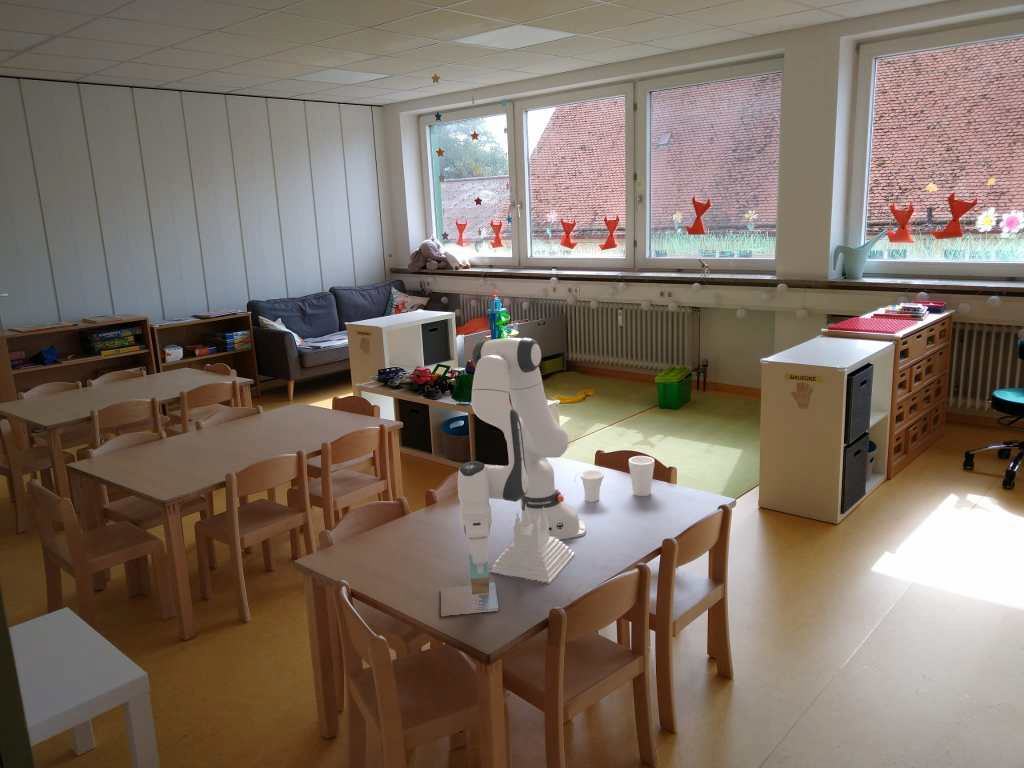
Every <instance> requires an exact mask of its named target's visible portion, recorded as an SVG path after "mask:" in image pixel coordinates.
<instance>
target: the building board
mask: <svg viewBox="0 0 1024 768" xmlns="http://www.w3.org/2000/svg"><path fill="white" fill-rule="evenodd" d="M489 592H490V593H487V594H478V595H479V596H478V597H480V598H481V599H482V600H479V603H480V602H482V604H478V605H479V606H480V605H481V606H482V607H478V608H479V609H475V610H488V609H499V603H498V595H497V588H496V582H494V581H492V582H489ZM476 595H477V594H476ZM476 601H477V600H476ZM484 607H485V608H484ZM480 608H481V609H480Z"/></svg>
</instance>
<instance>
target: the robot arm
mask: <svg viewBox="0 0 1024 768" xmlns="http://www.w3.org/2000/svg"><path fill="white" fill-rule="evenodd" d="M471 360H472V366H474V369H475V370H474V374H473V379H472V388H471V409H472V411H473V412H474V415H476V416H477V417H478V418H479V419H480V420H481V421H484V423H486V424H489V425H492V426H493V427H496V428H498V429H499V430H501V431H502V433H503V434H504V438H505V441H506V444H507V445H506V446H507V454H508V465H495V464H485V463H483V462H481V461H475V460H474V461H468V462H465V463H463V464H462V465H461V466H460V467H459V469H458V475H457V497H458V501H459V523H460V528H461V529H462V530H463V532H464V535H465V538H466V539H467V540H468V544H469V550H470V555H472V560H473V563H474V564H475V565H476V566H477V573H483V572H484V570H483V564H485V563H486V562H487V561H488V542H489V541H488V540H489V538H488V537H489V536H490V529H491V526H492V525H493V522H492V507H491V504H490V499H494V500H504V501H510V502H518V501H520V509H521V518H520V522H521V524H522V519H523V515H524V511H525V504H526V506H527V511H528V514H529V517H530V518H531V524H534V523H533V522H534V521H535V514H536V517H537V521H538V524H539V525H540V521H541V517H542V514H543V506H544V509H545V514H546V517H547V519H548V523H549V536H550V537H555V539H559V541H561V540H567V539H572V538H578V537H583V536H584V535H585V534H586V532H587V527H586V525H585V522H584V521H583V520H582V519H581V518H579V515H578V513H577V511H576V510H575V508H574V507H573V506H571V505H569V504H568V503H567V502H565V497H564V495H563V494H562V493H561V492H560V491H559V490H558V489H556V487H555V470H554V467H553V466H552V464H551V463H550V461H549V460H548V458H551V459H553V458H555V459H556V458H557V459H558V458H560V457H562V456H564V454H565V453H566V451H567V450H568V447H569V436H568V433H567V431H565V429H564V428H562V426H560V424H559V422H558V421H557V420H556V418H555V417H554V414H553V412H552V410H551V408H550V406H549V403H548V401H547V398H546V394H545V389H544V383H543V378H542V374H541V371H540V367H539V366H540V365H541V362H542V348H541V346H540V344H539V343H538V342H537V341H536V340H535V339H533V338H530V337H504V338H496V339H495V338H494V339H484V340H482V341H479V342H477V343H476V344H475V345H474V347H473V349H472V352H471Z"/></svg>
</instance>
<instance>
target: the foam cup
mask: <svg viewBox="0 0 1024 768" xmlns="http://www.w3.org/2000/svg"><path fill="white" fill-rule="evenodd" d="M628 468H629V473H630V479H631V484H632V485H631V486H632V493H633V495H635V496H639V497H646V496H649V495H650V494H651V491H652V485H653V476H654V468H655V459H654V458H653V457H651V456H646V455H637V456H636V455H635V456H632V457H630V458H629V459H628Z"/></svg>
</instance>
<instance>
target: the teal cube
mask: <svg viewBox="0 0 1024 768" xmlns="http://www.w3.org/2000/svg"><path fill="white" fill-rule="evenodd" d="M468 559H469V572H470V574H471V575H470V580H471V579H475V578H486V577H489V565H488V564H489V563H488V560H487V562H486V563H485V564H483V570H484V572H483V573H477V566H476V565H475V564H474V563H473V560H472V555H471V554H469V555H468Z"/></svg>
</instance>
